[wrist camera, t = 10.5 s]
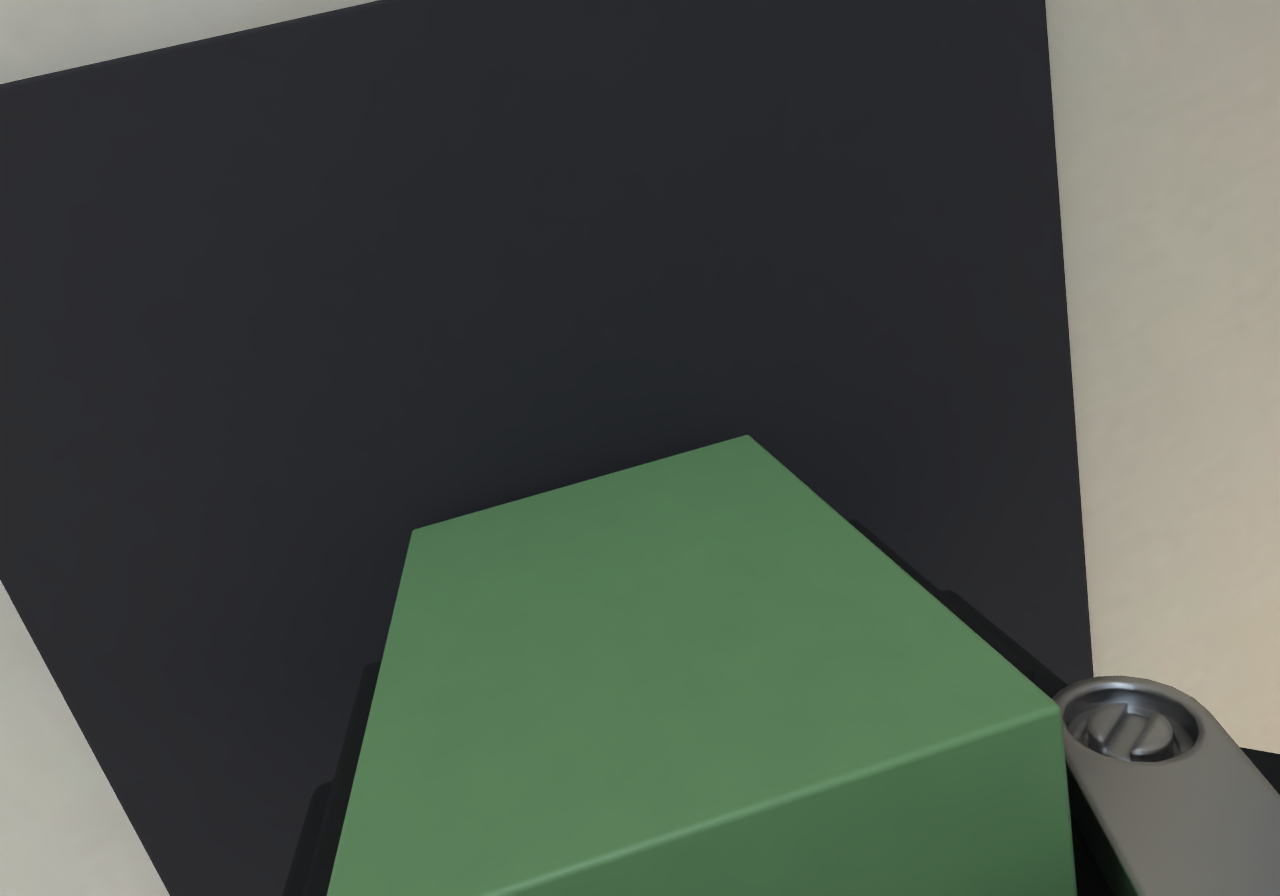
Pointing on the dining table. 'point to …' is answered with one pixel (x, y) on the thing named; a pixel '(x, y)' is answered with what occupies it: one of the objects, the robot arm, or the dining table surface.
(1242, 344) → the dining table surface
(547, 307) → the mat
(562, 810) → the green block
